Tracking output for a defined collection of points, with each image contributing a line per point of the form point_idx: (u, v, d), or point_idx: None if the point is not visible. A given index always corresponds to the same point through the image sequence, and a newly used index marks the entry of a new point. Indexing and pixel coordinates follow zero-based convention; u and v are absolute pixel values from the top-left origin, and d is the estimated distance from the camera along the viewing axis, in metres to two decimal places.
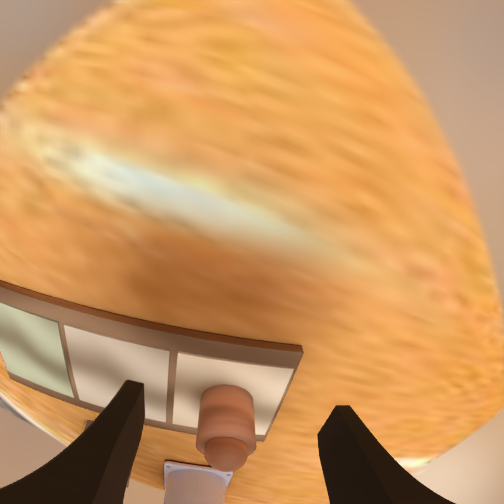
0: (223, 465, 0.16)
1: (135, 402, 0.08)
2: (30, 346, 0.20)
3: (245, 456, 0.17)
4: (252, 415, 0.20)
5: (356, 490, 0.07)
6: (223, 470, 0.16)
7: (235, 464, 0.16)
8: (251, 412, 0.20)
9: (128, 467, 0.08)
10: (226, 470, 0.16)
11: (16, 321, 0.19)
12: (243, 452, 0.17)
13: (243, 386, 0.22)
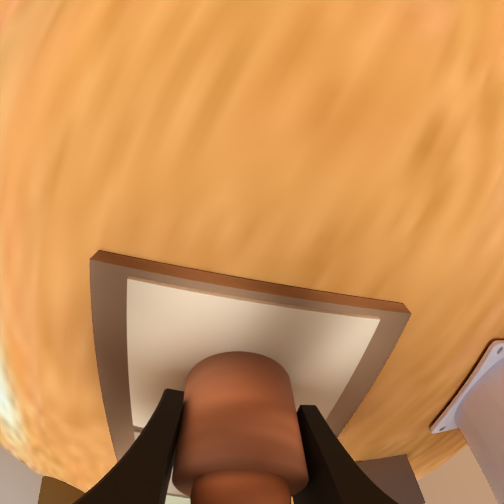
0: None
1: (179, 411, 0.08)
2: None
3: (225, 502, 0.06)
4: (213, 396, 0.09)
5: (316, 495, 0.07)
6: None
7: None
8: (208, 393, 0.09)
9: (169, 476, 0.08)
10: None
11: None
12: (211, 499, 0.06)
13: (188, 365, 0.11)
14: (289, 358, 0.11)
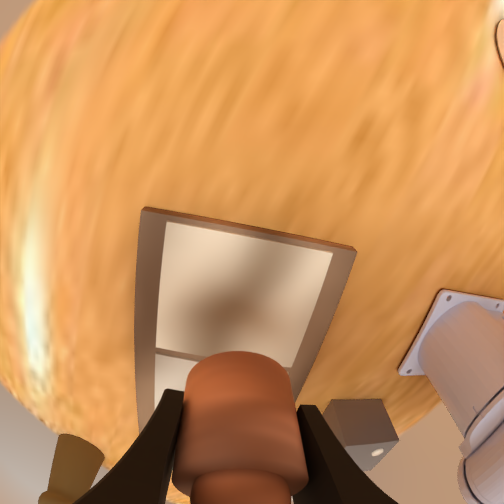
0: None
1: (179, 411, 0.08)
2: None
3: (225, 501, 0.06)
4: (213, 396, 0.09)
5: (316, 494, 0.07)
6: None
7: None
8: (208, 393, 0.09)
9: (169, 476, 0.08)
10: None
11: None
12: (211, 499, 0.06)
13: (202, 285, 0.17)
14: (271, 280, 0.17)
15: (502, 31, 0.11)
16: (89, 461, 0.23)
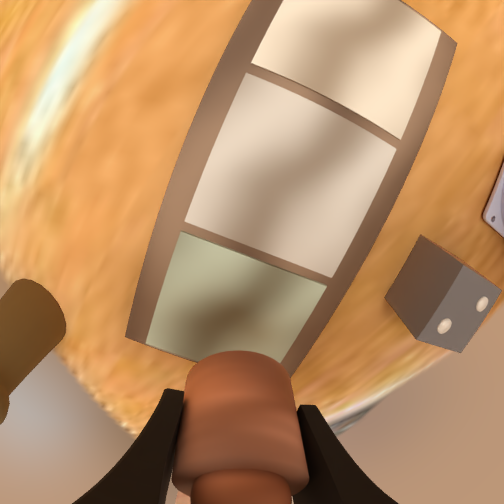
0: None
1: (179, 412, 0.08)
2: (221, 307, 0.18)
3: (225, 501, 0.06)
4: (213, 395, 0.09)
5: (316, 494, 0.07)
6: None
7: None
8: (208, 393, 0.09)
9: (169, 476, 0.08)
10: None
11: (179, 308, 0.18)
12: (212, 499, 0.06)
13: (331, 7, 0.12)
14: (393, 27, 0.12)
15: None
16: (43, 321, 0.17)
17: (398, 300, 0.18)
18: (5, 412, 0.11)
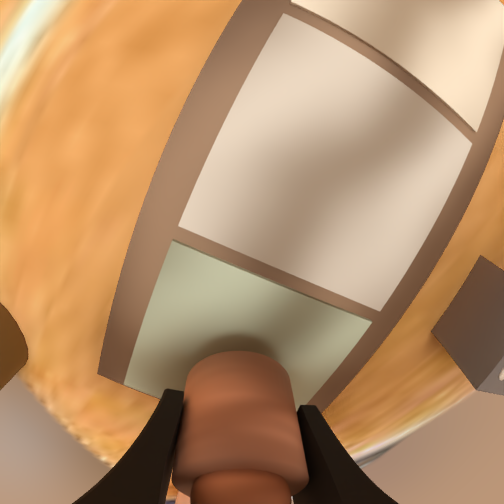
0: None
1: (179, 411, 0.08)
2: (227, 348, 0.13)
3: (225, 501, 0.06)
4: (213, 396, 0.09)
5: (316, 494, 0.07)
6: None
7: None
8: (208, 393, 0.09)
9: (169, 476, 0.08)
10: None
11: (167, 346, 0.12)
12: (211, 499, 0.06)
13: None
14: None
15: None
16: None
17: (451, 337, 0.13)
18: None
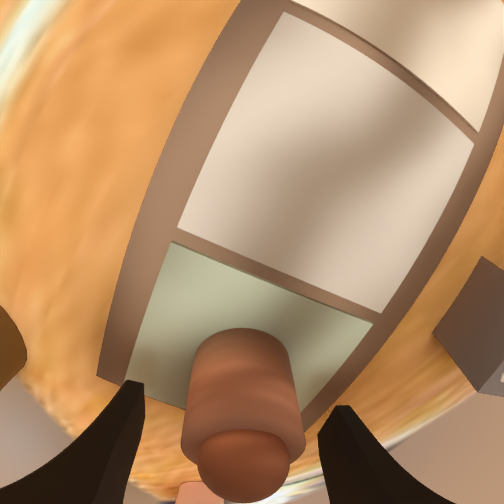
0: (229, 499, 0.07)
1: (135, 402, 0.08)
2: None
3: (229, 458, 0.07)
4: (218, 366, 0.10)
5: (356, 490, 0.07)
6: (250, 501, 0.07)
7: (228, 487, 0.07)
8: (214, 364, 0.10)
9: (128, 467, 0.08)
10: (249, 499, 0.07)
11: (167, 348, 0.12)
12: (217, 457, 0.07)
13: None
14: None
15: None
16: None
17: (452, 338, 0.13)
18: None
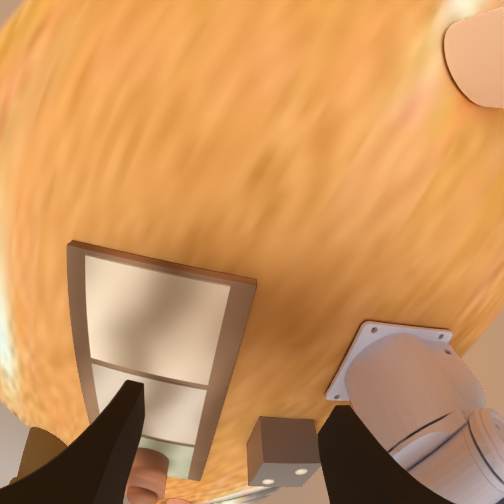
0: None
1: (135, 402, 0.08)
2: None
3: (131, 495, 0.19)
4: None
5: (356, 490, 0.07)
6: None
7: (132, 503, 0.19)
8: None
9: (128, 467, 0.08)
10: None
11: None
12: (128, 494, 0.19)
13: (119, 309, 0.18)
14: (175, 308, 0.18)
15: (449, 36, 0.12)
16: (54, 453, 0.24)
17: (248, 453, 0.24)
18: None
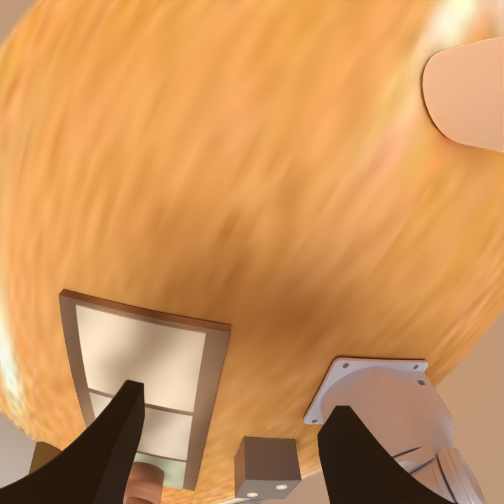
0: None
1: (135, 402, 0.08)
2: None
3: None
4: (129, 476, 0.24)
5: (356, 490, 0.07)
6: None
7: None
8: None
9: (128, 467, 0.08)
10: None
11: None
12: None
13: (109, 350, 0.19)
14: (158, 350, 0.19)
15: (429, 72, 0.13)
16: None
17: (235, 468, 0.25)
18: None
